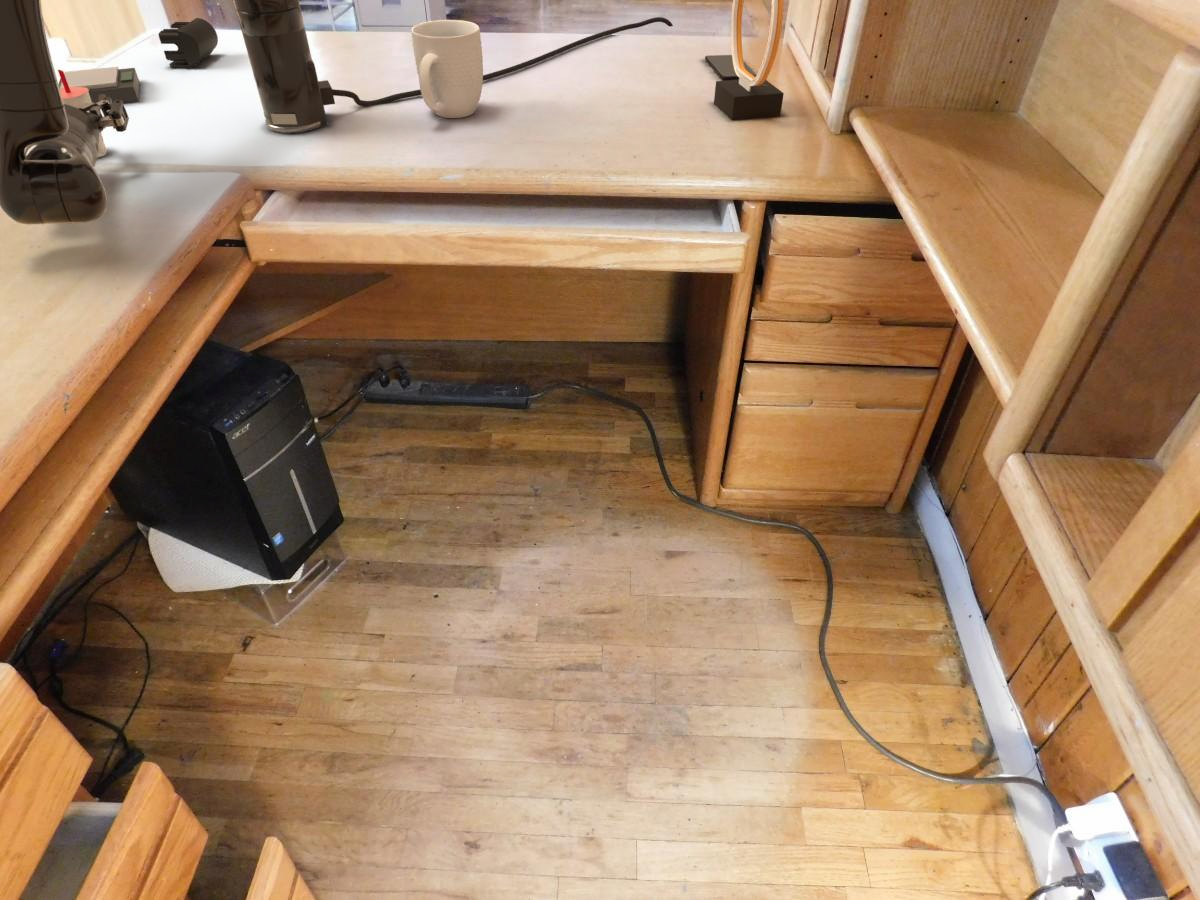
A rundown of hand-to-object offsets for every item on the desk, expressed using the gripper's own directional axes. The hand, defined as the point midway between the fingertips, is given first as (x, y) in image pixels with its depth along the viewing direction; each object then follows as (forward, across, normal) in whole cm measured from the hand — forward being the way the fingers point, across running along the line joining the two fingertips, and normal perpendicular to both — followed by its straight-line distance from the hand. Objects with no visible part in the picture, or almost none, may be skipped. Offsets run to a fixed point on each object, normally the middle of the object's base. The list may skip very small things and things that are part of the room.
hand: (72, 105), depth 111 cm
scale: (+31, 0, +8) cm, 32 cm away
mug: (-2, -55, +8) cm, 56 cm away
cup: (+1, 0, +8) cm, 8 cm away
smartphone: (+2, -112, +8) cm, 112 cm away
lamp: (-19, -103, +8) cm, 105 cm away
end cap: (+47, -16, +8) cm, 50 cm away
